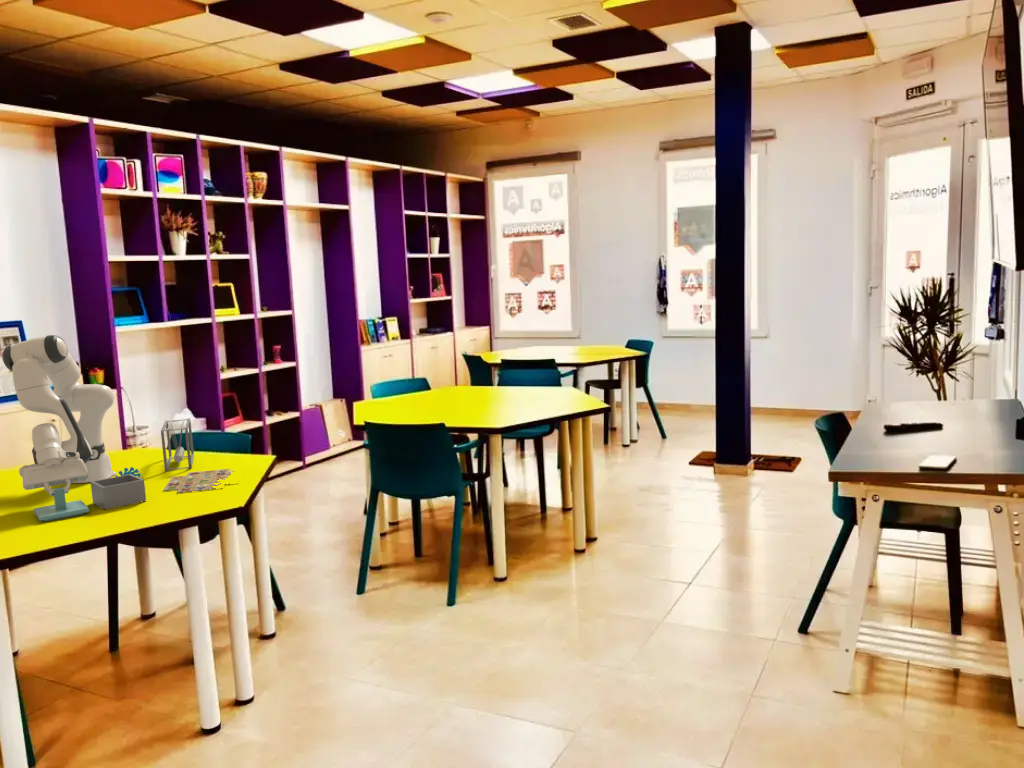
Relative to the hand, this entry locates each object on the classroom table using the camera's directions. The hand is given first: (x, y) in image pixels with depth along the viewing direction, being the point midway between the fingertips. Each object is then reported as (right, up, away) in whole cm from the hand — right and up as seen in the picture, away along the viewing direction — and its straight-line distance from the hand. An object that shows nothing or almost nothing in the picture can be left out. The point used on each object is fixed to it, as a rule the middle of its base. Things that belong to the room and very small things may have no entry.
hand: (59, 493), depth 292 cm
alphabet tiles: (+35, -1, +41) cm, 54 cm away
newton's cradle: (+12, +3, +76) cm, 77 cm away
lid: (0, -6, +1) cm, 7 cm away
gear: (+8, -3, +36) cm, 37 cm away
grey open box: (+14, -5, +14) cm, 21 cm away
